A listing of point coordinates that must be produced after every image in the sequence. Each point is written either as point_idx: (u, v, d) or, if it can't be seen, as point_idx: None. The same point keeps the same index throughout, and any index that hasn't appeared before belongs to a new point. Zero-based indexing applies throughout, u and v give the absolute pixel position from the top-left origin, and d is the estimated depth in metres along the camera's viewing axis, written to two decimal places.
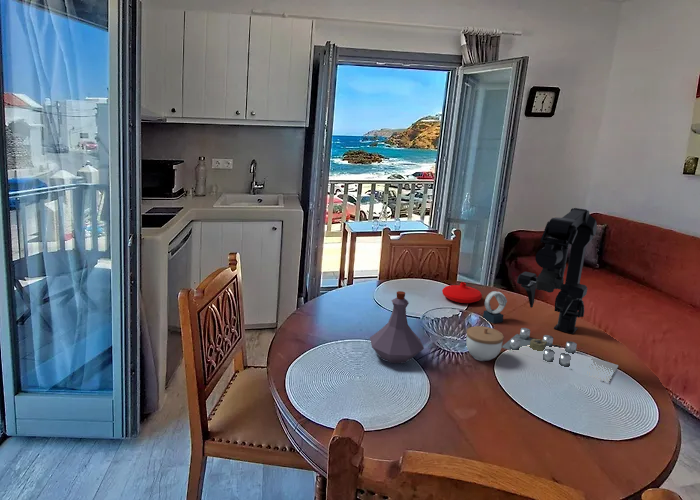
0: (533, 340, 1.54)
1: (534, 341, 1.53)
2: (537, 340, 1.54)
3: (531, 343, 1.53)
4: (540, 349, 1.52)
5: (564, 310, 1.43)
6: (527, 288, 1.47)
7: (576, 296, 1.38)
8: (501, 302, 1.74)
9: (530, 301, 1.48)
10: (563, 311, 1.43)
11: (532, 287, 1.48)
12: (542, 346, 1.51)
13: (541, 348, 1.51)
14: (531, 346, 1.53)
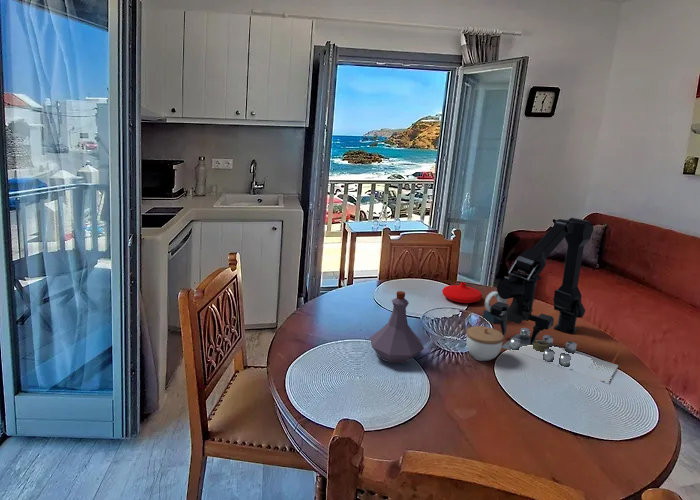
0: (536, 341, 1.53)
1: (537, 342, 1.53)
2: (540, 341, 1.53)
3: (534, 344, 1.53)
4: (543, 350, 1.51)
5: (532, 339, 1.53)
6: (499, 318, 1.57)
7: (542, 327, 1.48)
8: None
9: (502, 330, 1.59)
10: (531, 340, 1.54)
11: (504, 317, 1.58)
12: (545, 347, 1.51)
13: (544, 349, 1.51)
14: (534, 347, 1.53)
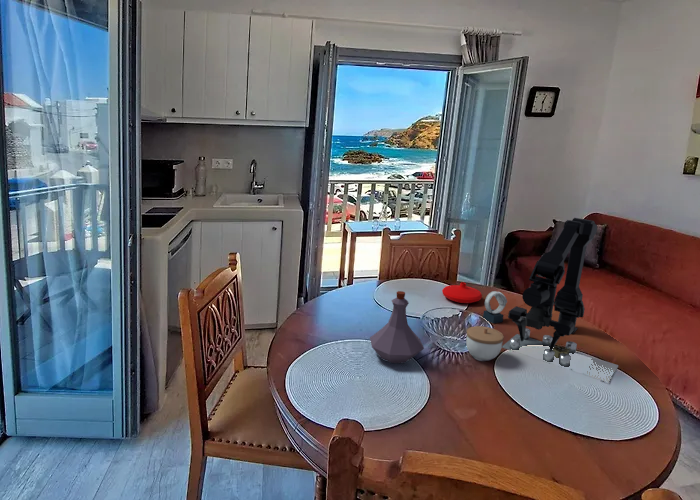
0: (556, 347, 1.50)
1: (557, 348, 1.49)
2: (560, 347, 1.50)
3: (554, 350, 1.49)
4: None
5: (552, 345, 1.50)
6: (518, 323, 1.54)
7: (563, 333, 1.45)
8: (501, 302, 1.74)
9: (521, 335, 1.55)
10: (551, 346, 1.50)
11: (523, 322, 1.55)
12: None
13: None
14: None
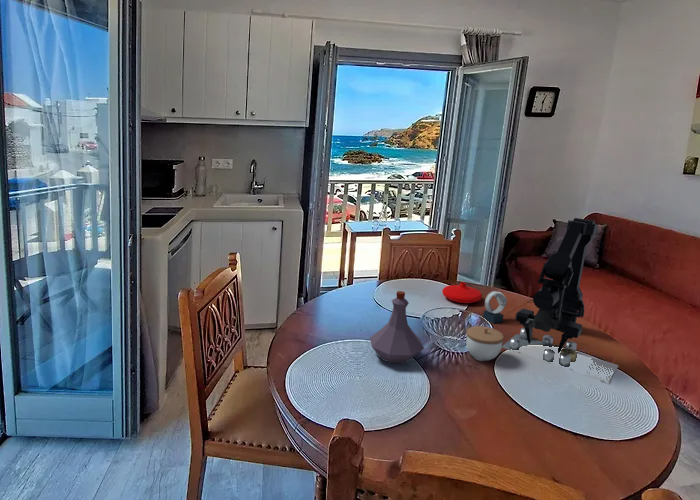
0: (564, 350, 1.48)
1: (565, 351, 1.48)
2: (568, 350, 1.48)
3: None
4: (571, 359, 1.46)
5: (560, 347, 1.48)
6: (525, 325, 1.52)
7: (572, 335, 1.43)
8: (501, 302, 1.74)
9: (528, 337, 1.54)
10: (559, 348, 1.49)
11: (530, 324, 1.53)
12: (573, 356, 1.46)
13: (572, 358, 1.46)
14: None
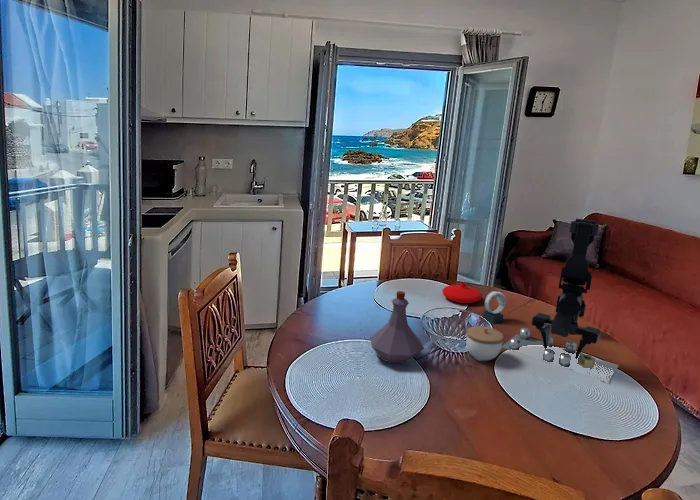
0: (581, 355, 1.45)
1: (583, 357, 1.45)
2: (586, 355, 1.45)
3: (580, 359, 1.44)
4: (590, 365, 1.43)
5: (578, 353, 1.45)
6: (542, 330, 1.49)
7: (590, 341, 1.40)
8: (501, 302, 1.74)
9: (544, 342, 1.51)
10: (577, 354, 1.46)
11: (546, 329, 1.50)
12: (592, 362, 1.43)
13: (591, 364, 1.43)
14: (579, 362, 1.45)
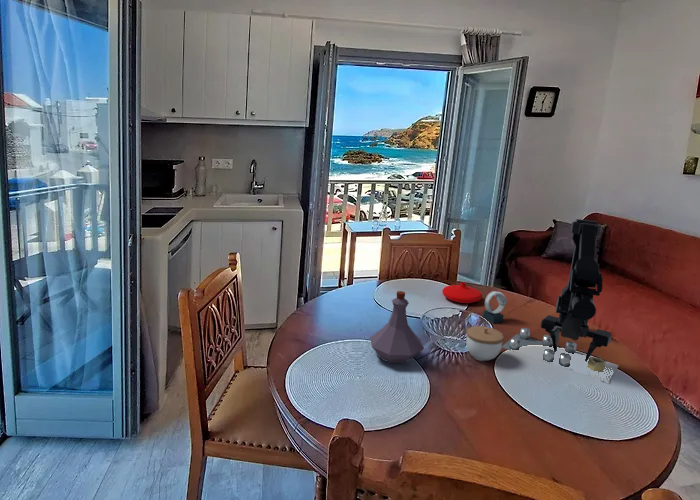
0: (591, 358, 1.44)
1: (593, 360, 1.43)
2: (596, 358, 1.44)
3: (590, 362, 1.43)
4: (600, 368, 1.41)
5: (588, 356, 1.44)
6: (551, 333, 1.48)
7: (601, 344, 1.39)
8: (501, 302, 1.74)
9: (554, 345, 1.49)
10: (587, 357, 1.44)
11: (556, 332, 1.49)
12: (602, 365, 1.41)
13: (601, 367, 1.41)
14: (590, 365, 1.43)
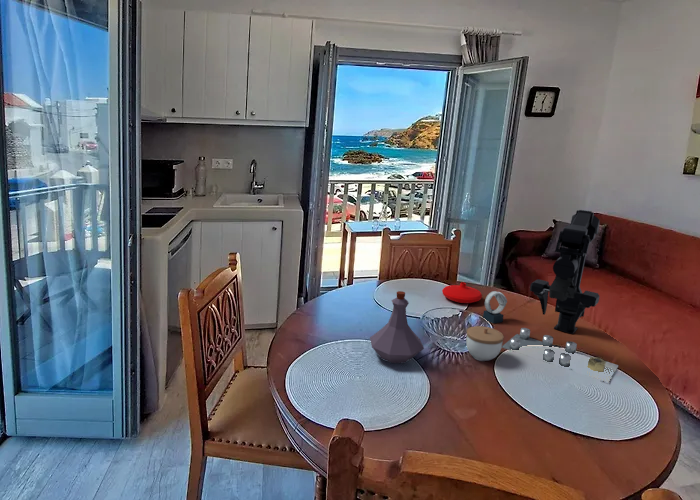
0: (591, 358, 1.44)
1: (593, 360, 1.43)
2: (596, 358, 1.44)
3: (590, 362, 1.43)
4: (600, 368, 1.41)
5: (576, 317, 1.45)
6: (540, 296, 1.49)
7: (589, 304, 1.41)
8: (501, 302, 1.74)
9: (543, 308, 1.51)
10: (575, 318, 1.46)
11: (545, 295, 1.50)
12: (602, 365, 1.41)
13: (601, 367, 1.41)
14: (590, 365, 1.43)
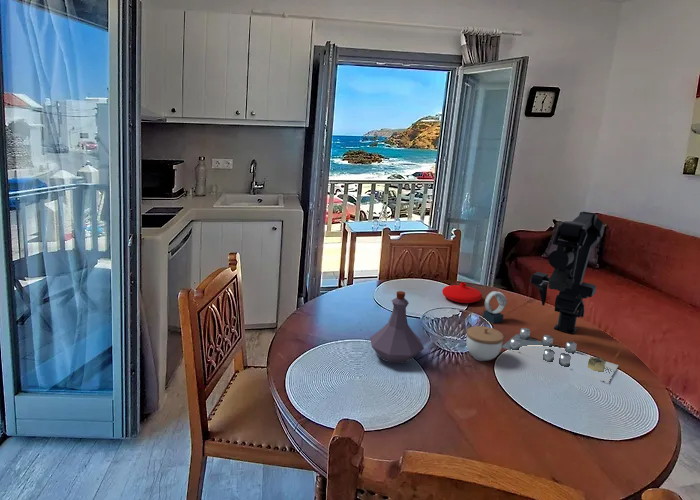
0: (591, 358, 1.44)
1: (593, 360, 1.43)
2: (596, 358, 1.44)
3: (590, 362, 1.43)
4: (600, 368, 1.41)
5: (574, 308, 1.53)
6: (539, 287, 1.57)
7: (586, 295, 1.48)
8: (501, 302, 1.74)
9: (542, 299, 1.58)
10: (573, 309, 1.53)
11: (544, 286, 1.58)
12: (602, 365, 1.41)
13: (601, 367, 1.41)
14: (590, 365, 1.43)
